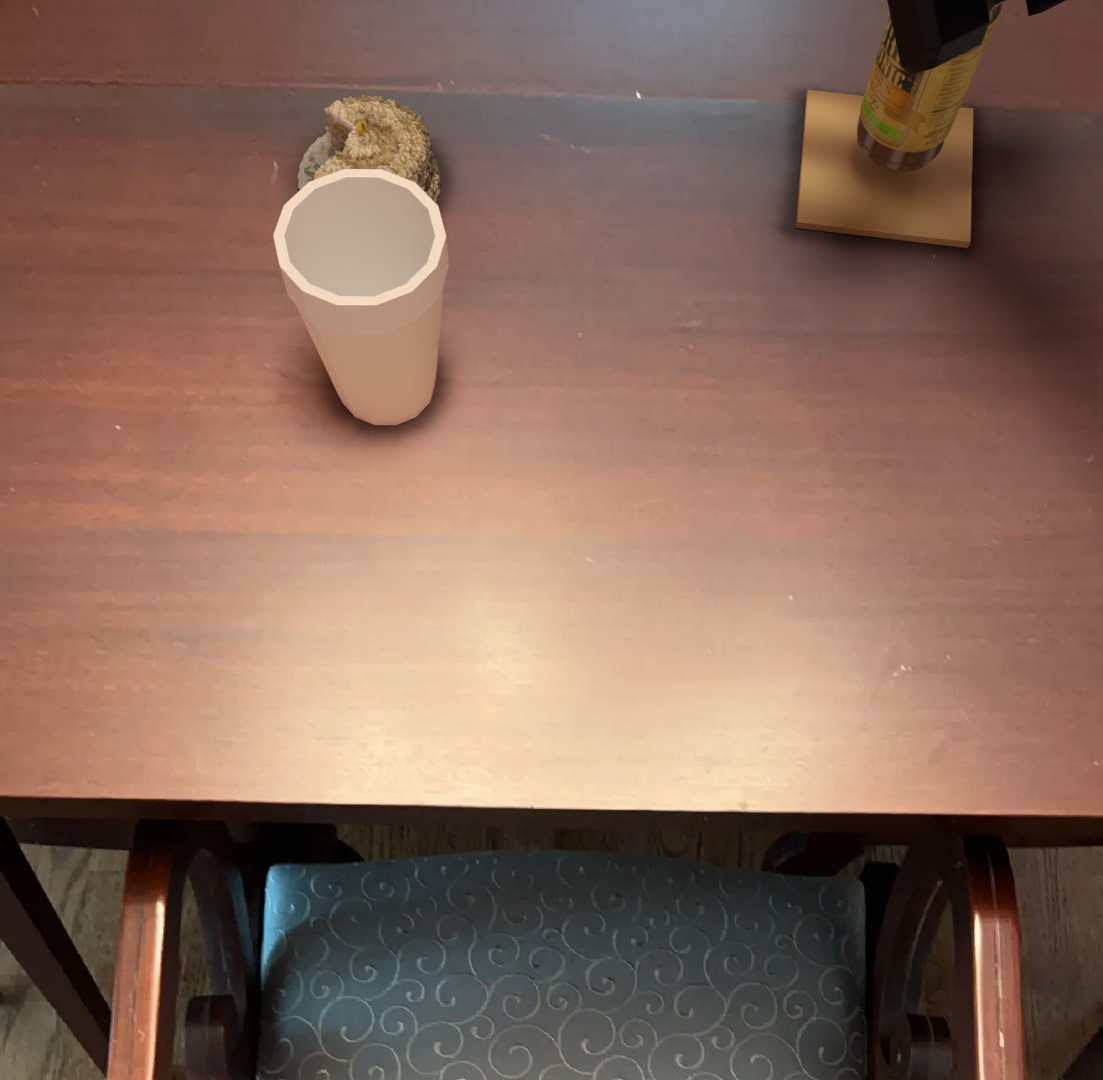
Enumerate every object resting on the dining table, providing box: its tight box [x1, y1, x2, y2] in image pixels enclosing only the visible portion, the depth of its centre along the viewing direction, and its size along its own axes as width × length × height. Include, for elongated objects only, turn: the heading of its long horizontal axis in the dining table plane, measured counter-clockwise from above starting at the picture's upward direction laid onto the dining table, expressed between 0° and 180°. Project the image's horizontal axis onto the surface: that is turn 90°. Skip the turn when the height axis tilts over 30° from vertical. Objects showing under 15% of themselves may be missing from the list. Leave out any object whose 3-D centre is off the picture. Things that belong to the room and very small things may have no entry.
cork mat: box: [795, 89, 974, 249], centre depth 83 cm, size 12×12×1 cm
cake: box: [297, 94, 442, 204], centre depth 79 cm, size 10×10×5 cm
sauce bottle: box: [857, 3, 1003, 172], centre depth 71 cm, size 6×6×20 cm
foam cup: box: [272, 169, 450, 426], centre depth 71 cm, size 10×9×13 cm
